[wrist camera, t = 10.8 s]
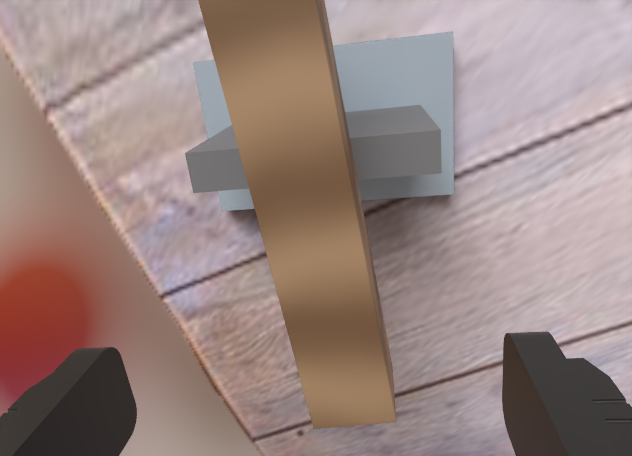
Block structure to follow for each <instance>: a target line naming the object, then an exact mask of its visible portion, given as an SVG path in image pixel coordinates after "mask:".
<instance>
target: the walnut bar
mask: <svg viewBox="0 0 632 456" xmlns="http://www.w3.org/2000/svg"><path fill="white" fill-rule="evenodd" d="M199 4H200V8H201V12H202V15H203V19H204V23H205V26H206V30H207V34H208V38H209V41H210V45H211V49H212V52H213V56H214V60H215V64H216V67H217V71H218V75H219V78H220V82H221V86H222V90H223V93H224V97H225V101H226V104H227V108H228V112H229V116H230V119H231V123H232V127H233V130H234V134H235V138H236V142H237V145H238V149H239V153H240V156H241V160H242V164H243V168H244V171H245V175H246V179H247V182H248V186H249V190H250V194H251V197H252V201H253V205H254V208H255V212H256V216H257V220H258V223H259V227H260V231H261V234H262V238H263V242H264V246H265V249H266V253H267V257H268V260H269V264H270V268H271V272H272V275H273V279H274V283H275V286H276V290H277V294H278V298H279V301H280V305H281V309H282V312H283V316H284V320H285V324H286V327H287V331H288V335H289V338H290V342H291V346H292V350H293V353H294V357H295V361H296V364H297V368H298V372H299V376H300V379H301V383H302V387H303V390H304V394H305V398H306V402H307V405H308V409H309V413H310V416H311V420H312V424H313V428H314V429H318V428H330V427H342V426H354V425H365V424H377V423H389V422H396V412H395V398H394V384H393V370H392V363H391V358H390V352H389V347H388V342H387V336H386V331H385V325H384V320H383V315H382V309H381V304H380V298H379V293H378V288H377V282H376V277H375V271H374V266H373V261H372V255H371V250H370V244H369V239H368V234H367V228H366V223H365V217H364V212H363V207H362V201H361V196H360V190H359V185H358V180H357V174H356V169H355V163H354V158H353V153H352V147H351V142H350V136H349V131H348V126H347V120H346V115H345V109H344V104H343V99H342V93H341V88H340V82H339V77H338V72H337V66H336V61H335V55H334V50H333V45H332V39H331V34H330V28H329V23H328V18H327V12H326V7H325V1H324V0H199Z"/></svg>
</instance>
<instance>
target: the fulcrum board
mask: <svg viewBox="0 0 632 456" xmlns="http://www.w3.org/2000/svg"><path fill="white" fill-rule="evenodd" d="M333 50H334V55H335V61H336V66H337V72H338V77H339V82H340V88H341V93H342V99H343V104H344V109H345V115H346V120H347V126H348V131H349V136H350V142H351V147H352V153H353V158H354V163H355V169H356V174H357V180H358V185H359V190H360V196H361V201H368V200H382V199H395V198H409V197H423V196H436V195H450V194H454V112H453V32H446V33H437V34H429V35H421V36H412V37H404V38H395V39H387V40H378V41H370V42H362V43H353V44H345V45H336V46H333ZM193 65H194V70H195V75H196V80H197V85H198V90H199V96H200V101H201V106H202V111H203V116H204V122H205V127H206V132H207V137H208V140H206V141H204V142H203V143H201V144H199V145H198V146H196V147H195V148H193V149H191V150H190V151H188V152H186V153H185V155H186V160H187V165H188V169H189V174H190V179H191V183H192V188H193V193H199V192H212V191H218V194H219V199H220V204H221V210H222V211H231V210H245V209H255V208H254V205H253V201H252V197H251V194H250V190H249V186H248V182H247V179H246V175H245V171H244V168H243V164H242V160H241V156H240V153H239V149H238V145H237V142H236V138H235V134H234V130H233V127H232V123H231V119H230V116H229V112H228V108H227V104H226V101H225V97H224V93H223V90H222V86H221V82H220V78H219V75H218V71H217V67H216V64H215V60H210V61H202V62H194V63H193Z"/></svg>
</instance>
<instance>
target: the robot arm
mask: <svg viewBox="0 0 632 456" xmlns="http://www.w3.org/2000/svg"><path fill="white" fill-rule="evenodd" d="M502 403H503V413H504V419H505V424H506V428H507V432H508V435H509V438H510V440H511V443H512V446H513V449H514V452H515V454H516V456H632V407H631V406H630V404H627V403H626V399H625V397H624V396H623V395H622V393H621V392H620V391H619V389H618V388H617V386H616V385H615V384H614V382H613V381H612V380H611V378H610V377H609V376H608V375H606V374H605V373H604V372H602V371H601V370H599V369H598V368H597V367H595V366H594V365H592V364H591V363H590V362H588V361H587V360H585V359H584V358H572V359H566V357H565V356H564V354H563V353H562V351H561V349H560V348H559V346H558V345H557V343H556V341H555V340H554V338H553V337H552V335H551V334H550V333H549V332H526V333H506V335H505V337H504V349H503V389H502ZM136 416H137V408H136V403H135V400H134V396H133V393H132V390H131V387H130V383H129V380H128V377H127V374H126V371H125V367H124V364H123V361H122V358H121V355H120V353H119V352H118V350H117V349H115V348H113V347H106V348H81V349H77V350H75V351H74V352H73V353H72V354H70V355H69V357H68V358H67V359H66V360H65V361H64V362H63V363H62V364H61V365H60V366H59V367H58V368H57V369H56V370H55V371H54V372H53V373H52V374H50V375H49V376H47V377H46V378H45V379H43V380H41V381H40V382H39V383H37V384H35V385H34V386H32V387H31V388H29V389H28V390H27V391H26V392H25V393H24V394H23V395H22V396H21V397H20V398H19V399H18V400H17V401H16V402H15V403H14V404H13V405H12V406H11V407H10V408H9V409H8V413H4V414H3V415H2V416H1V417H0V456H119V455H120V453H121V451H122V450H123V448H124V447H125V445H126V443H127V442H128V440H129V439H130V437H131V435H132V433H133V431H134V427H135V424H136V418H137V417H136Z"/></svg>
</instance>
